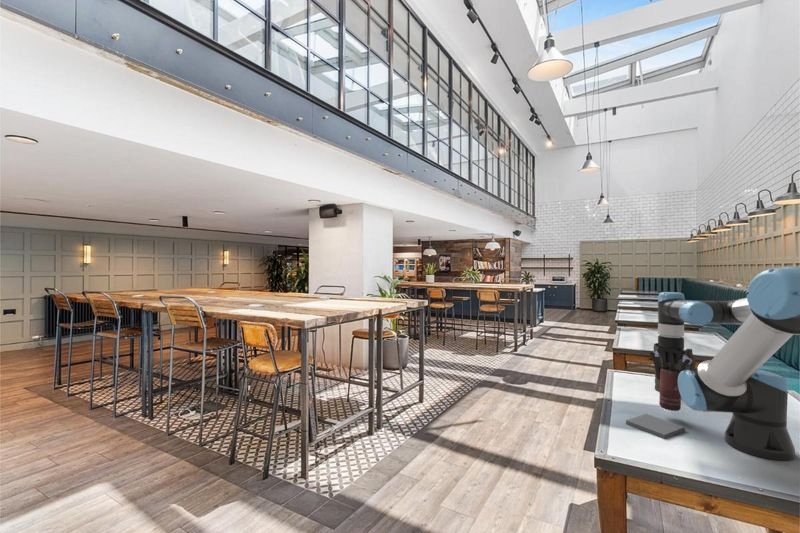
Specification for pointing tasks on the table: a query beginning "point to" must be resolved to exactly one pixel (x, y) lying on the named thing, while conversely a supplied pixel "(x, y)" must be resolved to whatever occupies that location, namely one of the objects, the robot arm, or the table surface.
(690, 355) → the beer stein
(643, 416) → the mat
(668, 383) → the can
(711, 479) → the table surface
